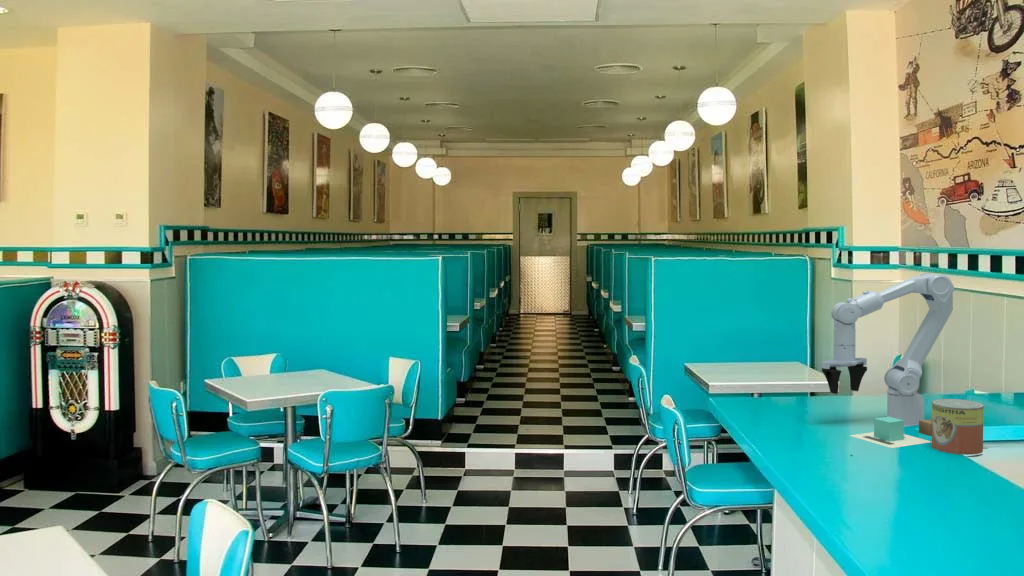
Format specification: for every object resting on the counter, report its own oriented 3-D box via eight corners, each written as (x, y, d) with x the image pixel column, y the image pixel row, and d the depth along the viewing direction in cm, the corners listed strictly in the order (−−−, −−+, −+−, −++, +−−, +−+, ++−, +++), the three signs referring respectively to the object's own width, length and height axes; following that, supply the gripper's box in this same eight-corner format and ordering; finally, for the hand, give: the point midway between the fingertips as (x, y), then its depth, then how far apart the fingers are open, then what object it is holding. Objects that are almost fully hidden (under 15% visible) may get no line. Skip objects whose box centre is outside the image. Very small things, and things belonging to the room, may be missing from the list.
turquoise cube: (888, 435, 208) (888, 416, 208) (903, 439, 204) (904, 420, 203) (874, 437, 206) (874, 418, 206) (889, 441, 202) (889, 422, 202)
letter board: (888, 432, 214) (888, 429, 214) (932, 444, 201) (932, 441, 201) (848, 437, 209) (848, 435, 209) (891, 450, 196) (891, 448, 196)
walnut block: (918, 435, 210) (931, 433, 211) (929, 438, 207) (942, 437, 207) (918, 420, 210) (931, 419, 211) (930, 423, 206) (942, 422, 207)
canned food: (920, 448, 197) (921, 401, 196) (951, 443, 202) (952, 397, 201) (962, 459, 187) (962, 410, 186) (993, 453, 191) (994, 405, 191)
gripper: (835, 348, 216) (834, 396, 217) (875, 344, 221) (874, 392, 222) (816, 345, 222) (816, 392, 223) (856, 341, 228) (855, 387, 228)
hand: (844, 391), depth 223 cm, fingers open, 7 cm apart
